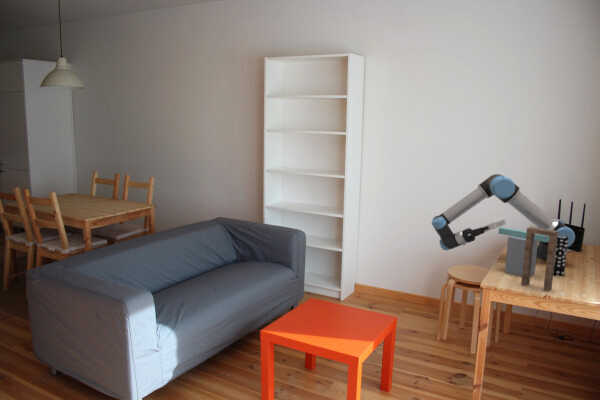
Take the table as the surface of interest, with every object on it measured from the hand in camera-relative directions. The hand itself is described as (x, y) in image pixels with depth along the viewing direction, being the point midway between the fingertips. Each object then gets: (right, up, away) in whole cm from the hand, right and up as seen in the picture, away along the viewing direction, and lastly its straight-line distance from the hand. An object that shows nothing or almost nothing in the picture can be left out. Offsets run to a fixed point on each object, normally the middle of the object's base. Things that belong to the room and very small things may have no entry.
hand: (500, 223), depth 249 cm
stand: (+6, -29, -26) cm, 40 cm away
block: (+8, -26, -5) cm, 27 cm away
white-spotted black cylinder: (+27, -26, -5) cm, 38 cm away
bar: (+9, -7, -7) cm, 13 cm away
